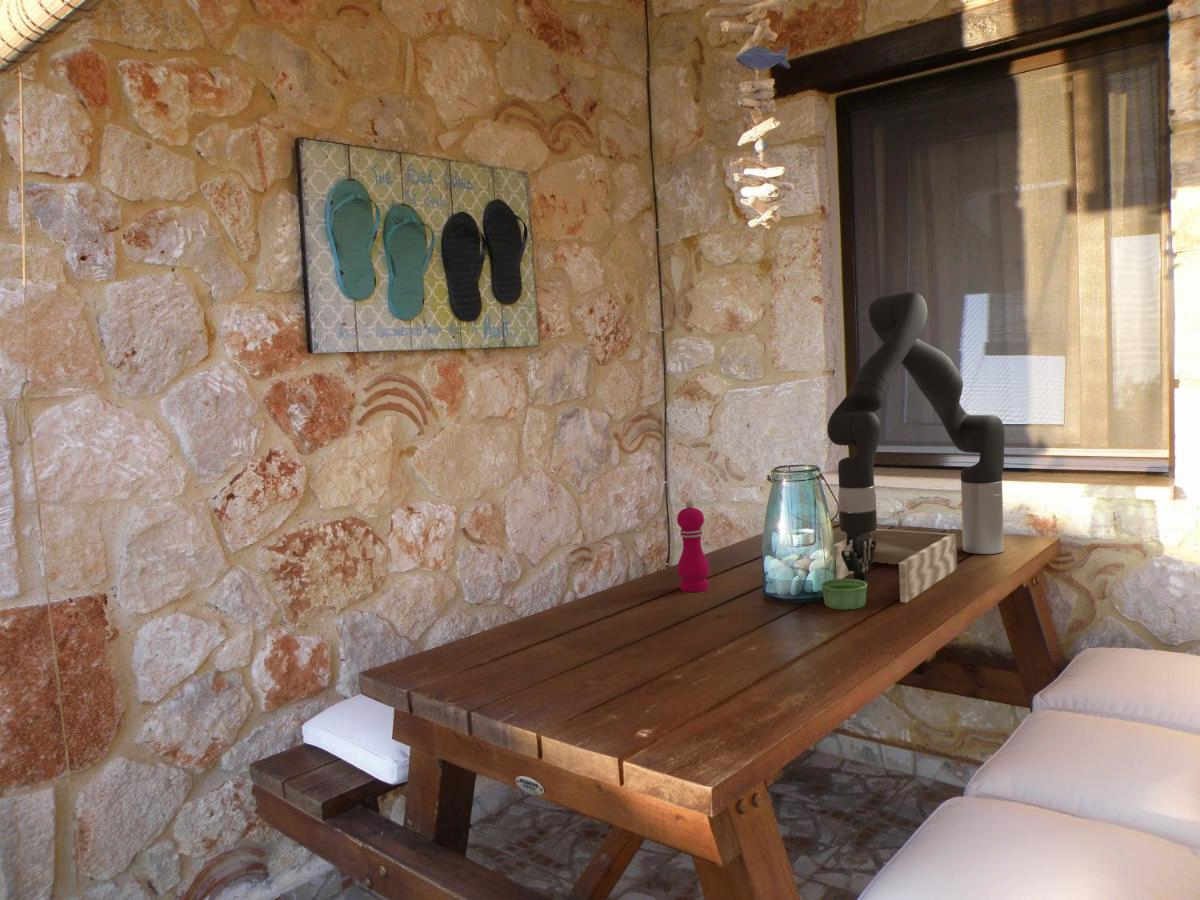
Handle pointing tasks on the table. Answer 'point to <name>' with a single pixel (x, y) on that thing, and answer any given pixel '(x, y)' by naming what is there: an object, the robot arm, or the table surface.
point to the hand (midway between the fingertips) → (860, 589)
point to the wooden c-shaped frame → (910, 558)
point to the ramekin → (844, 593)
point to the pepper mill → (692, 551)
